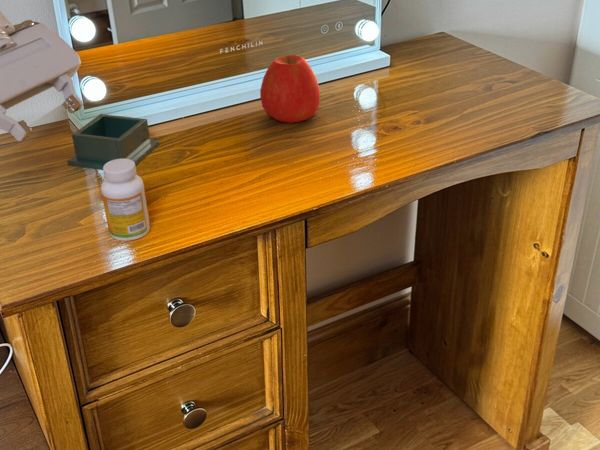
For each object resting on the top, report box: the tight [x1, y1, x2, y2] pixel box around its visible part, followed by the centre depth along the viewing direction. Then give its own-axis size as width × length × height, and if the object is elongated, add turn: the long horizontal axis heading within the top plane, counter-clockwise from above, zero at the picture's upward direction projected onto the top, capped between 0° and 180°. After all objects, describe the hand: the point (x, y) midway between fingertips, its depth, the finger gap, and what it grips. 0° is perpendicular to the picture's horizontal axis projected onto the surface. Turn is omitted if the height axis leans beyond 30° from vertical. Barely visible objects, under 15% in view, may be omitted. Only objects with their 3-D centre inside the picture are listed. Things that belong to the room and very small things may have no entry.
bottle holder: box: [66, 113, 160, 171], centre depth 120 cm, size 10×10×5 cm
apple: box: [259, 54, 321, 124], centre depth 130 cm, size 10×10×10 cm
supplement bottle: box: [100, 159, 151, 242], centre depth 98 cm, size 5×5×10 cm
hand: (53, 122), depth 97 cm, fingers open, 8 cm apart
